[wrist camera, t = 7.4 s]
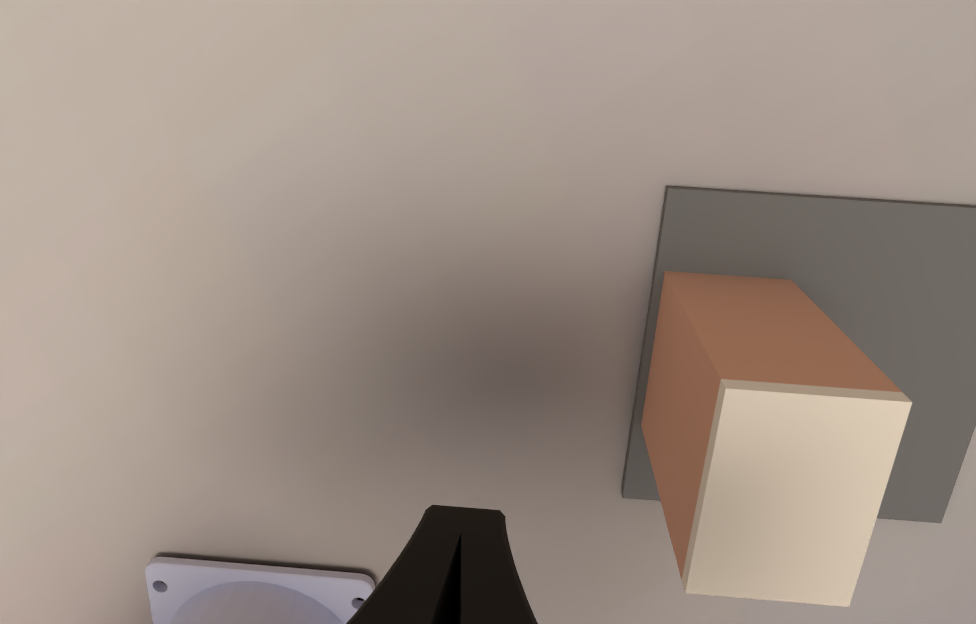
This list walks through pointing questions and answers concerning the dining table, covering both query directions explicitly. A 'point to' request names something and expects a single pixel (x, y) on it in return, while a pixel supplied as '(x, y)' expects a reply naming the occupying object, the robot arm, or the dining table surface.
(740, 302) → the block
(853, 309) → the mat
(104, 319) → the dining table surface
